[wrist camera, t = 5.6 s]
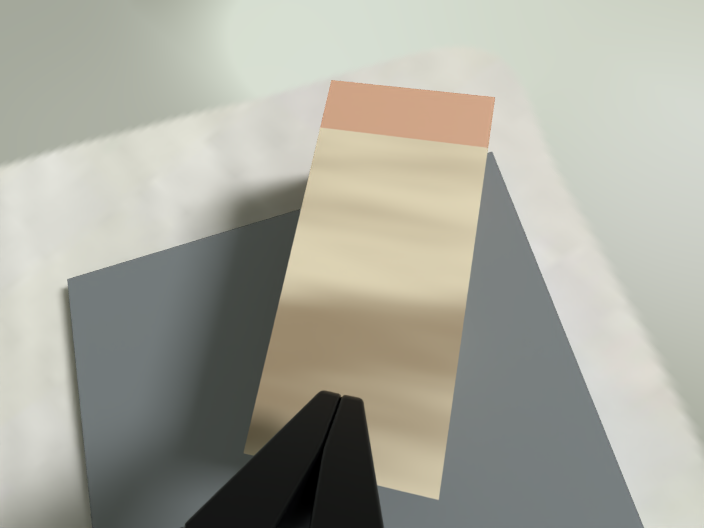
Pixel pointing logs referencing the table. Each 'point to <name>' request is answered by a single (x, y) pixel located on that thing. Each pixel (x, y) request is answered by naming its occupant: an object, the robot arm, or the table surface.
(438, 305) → the beech block
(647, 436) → the table surface
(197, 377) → the slate mat
